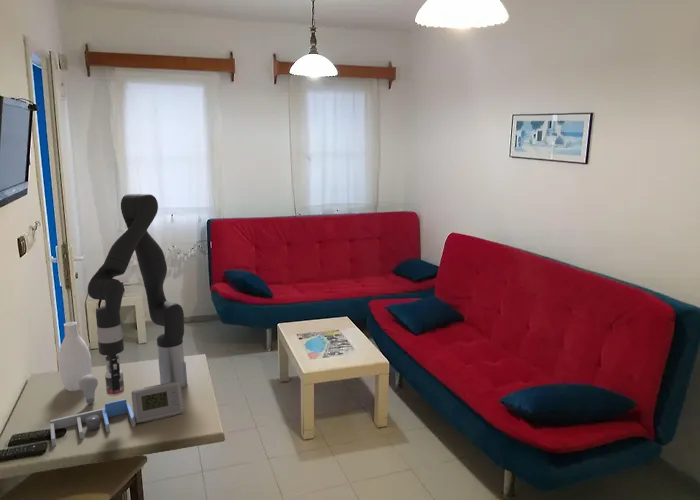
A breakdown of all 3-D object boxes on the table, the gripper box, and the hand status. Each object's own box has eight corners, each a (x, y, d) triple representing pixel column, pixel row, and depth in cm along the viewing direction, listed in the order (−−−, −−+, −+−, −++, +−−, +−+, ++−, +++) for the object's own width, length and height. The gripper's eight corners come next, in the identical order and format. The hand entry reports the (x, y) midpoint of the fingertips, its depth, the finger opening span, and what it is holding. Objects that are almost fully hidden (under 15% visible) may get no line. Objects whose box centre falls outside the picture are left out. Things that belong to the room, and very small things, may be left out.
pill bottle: (103, 393, 181) (101, 365, 179) (119, 387, 185) (116, 360, 183) (111, 398, 178) (109, 370, 176) (127, 392, 182) (124, 365, 180)
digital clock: (132, 425, 182) (129, 396, 180) (135, 412, 191) (132, 384, 188) (183, 418, 186) (181, 389, 184) (184, 406, 195) (182, 378, 192)
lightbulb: (92, 408, 193) (89, 379, 191) (77, 407, 194) (74, 378, 192) (103, 400, 199) (100, 372, 197) (88, 399, 200) (85, 371, 198)
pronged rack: (129, 410, 192) (128, 397, 191) (135, 425, 182) (134, 411, 181) (51, 428, 180) (49, 414, 179) (52, 446, 170) (50, 431, 169)
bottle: (62, 395, 203) (54, 330, 198) (60, 384, 212) (52, 321, 207) (95, 388, 209) (88, 325, 203) (92, 377, 218) (85, 316, 213)
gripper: (125, 342, 173) (130, 392, 177) (119, 329, 186) (124, 375, 189) (100, 347, 170) (105, 397, 173) (95, 333, 182) (100, 380, 185)
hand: (115, 386), depth 181 cm, fingers closed on pill bottle, 5 cm apart
